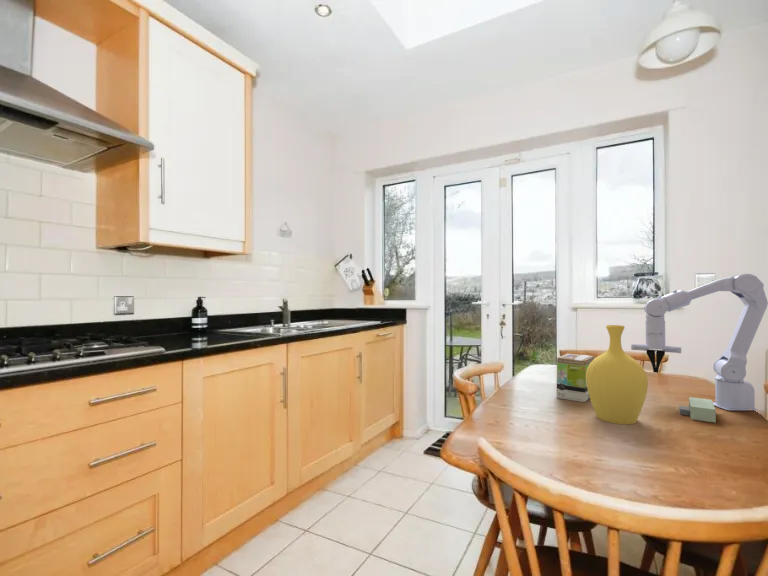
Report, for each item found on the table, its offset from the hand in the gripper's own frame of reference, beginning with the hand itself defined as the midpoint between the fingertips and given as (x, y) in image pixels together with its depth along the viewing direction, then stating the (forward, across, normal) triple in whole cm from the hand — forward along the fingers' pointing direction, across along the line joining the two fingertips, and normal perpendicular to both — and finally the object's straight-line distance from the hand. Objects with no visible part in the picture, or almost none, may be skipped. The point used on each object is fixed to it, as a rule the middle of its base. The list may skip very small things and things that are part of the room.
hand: (655, 371), depth 139 cm
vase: (+10, -9, -32) cm, 35 cm away
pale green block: (+10, +12, -13) cm, 20 cm away
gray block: (+10, +10, -13) cm, 19 cm away
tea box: (+10, -24, -11) cm, 28 cm away
